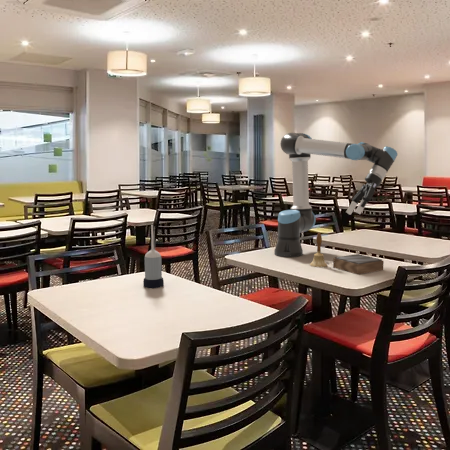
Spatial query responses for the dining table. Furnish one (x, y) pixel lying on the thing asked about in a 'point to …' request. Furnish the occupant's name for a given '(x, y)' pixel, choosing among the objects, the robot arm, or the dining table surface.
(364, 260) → the bell stand
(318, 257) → the hand bell
